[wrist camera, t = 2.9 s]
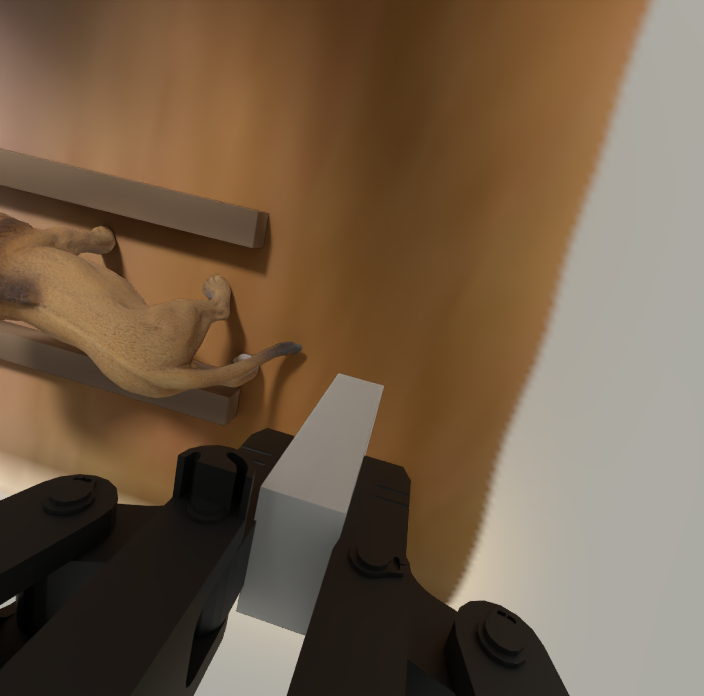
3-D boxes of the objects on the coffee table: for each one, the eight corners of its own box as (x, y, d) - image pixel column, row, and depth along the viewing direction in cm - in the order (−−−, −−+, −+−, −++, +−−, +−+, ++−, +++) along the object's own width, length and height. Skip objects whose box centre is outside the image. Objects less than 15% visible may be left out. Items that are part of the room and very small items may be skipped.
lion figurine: (27, 303, 22) (-233, 346, 13) (32, 198, 20) (-258, 169, 12) (293, 392, 20) (197, 504, 12) (320, 287, 19) (232, 329, 10)
